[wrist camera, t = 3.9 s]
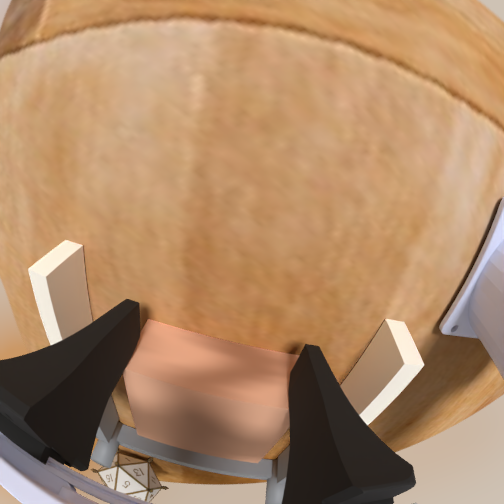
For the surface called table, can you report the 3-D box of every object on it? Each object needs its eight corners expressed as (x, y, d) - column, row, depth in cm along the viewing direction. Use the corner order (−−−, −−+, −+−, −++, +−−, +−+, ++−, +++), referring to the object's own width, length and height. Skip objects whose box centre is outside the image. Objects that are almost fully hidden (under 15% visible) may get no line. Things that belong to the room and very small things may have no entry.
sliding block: (300, 354, 13) (302, 410, 10) (261, 421, 17) (257, 463, 14) (148, 317, 13) (121, 367, 10) (152, 395, 17) (137, 434, 14)
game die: (159, 438, 28) (191, 502, 22) (119, 454, 28) (146, 512, 22) (110, 436, 21) (146, 517, 15) (72, 451, 21) (100, 521, 15)
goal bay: (331, 422, 16) (336, 481, 12) (284, 465, 21) (283, 506, 17) (85, 362, 16) (55, 413, 11) (109, 423, 21) (93, 461, 16)
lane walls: (403, 321, 12) (424, 365, 9) (326, 421, 16) (329, 456, 14) (65, 239, 11) (28, 268, 9) (90, 364, 16) (72, 394, 13)
